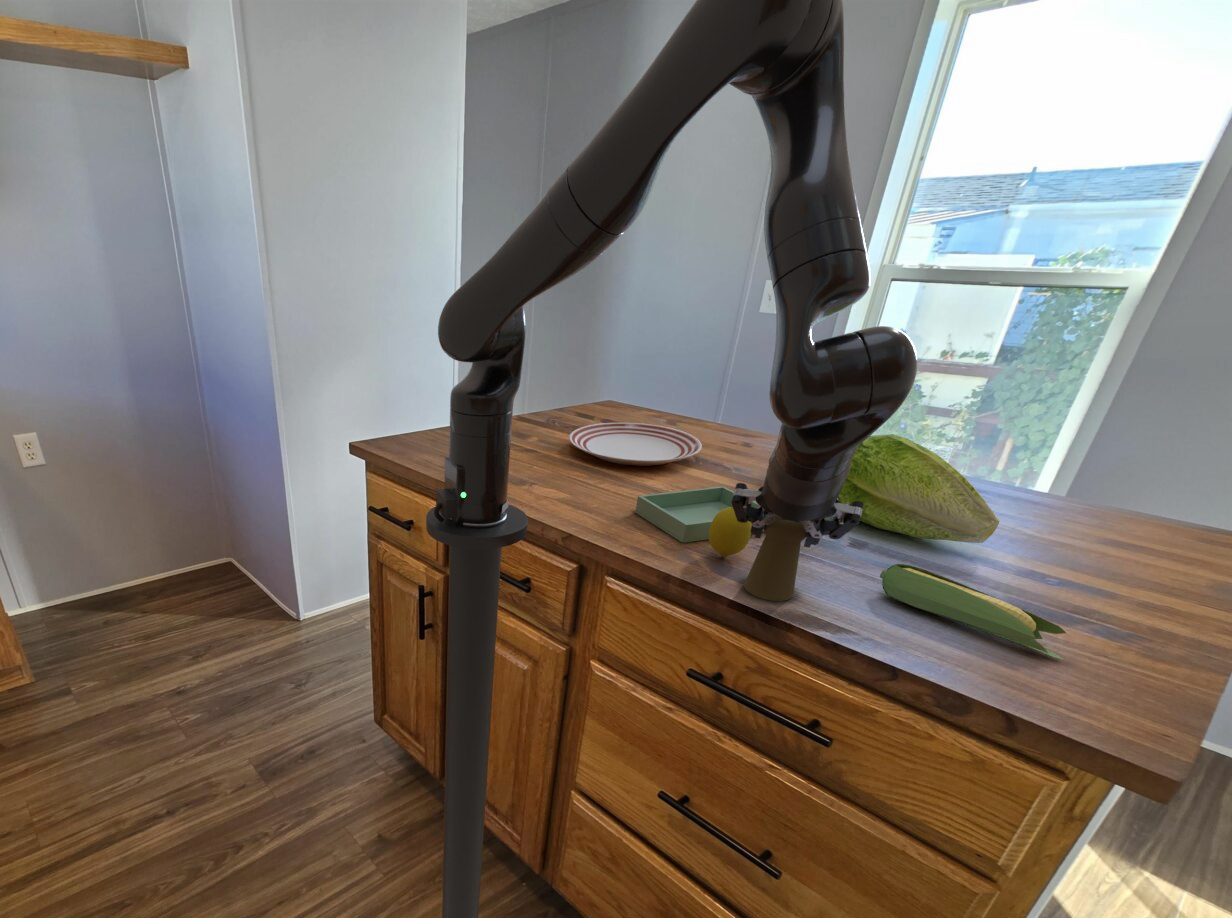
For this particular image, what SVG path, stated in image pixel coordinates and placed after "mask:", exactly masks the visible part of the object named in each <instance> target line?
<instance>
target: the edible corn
mask: <svg viewBox="0 0 1232 918" xmlns="http://www.w3.org/2000/svg"><path fill="white" fill-rule="evenodd" d="M879 578H880V579H881V580H882V582H881V586H882V589H883V592H884V593H885V594H886V595H887V596H888V597H889V598H891V599H893V600H895V601H896V602H897V601H898V602H899V603H901V604H904V605H907V606H910V607H913V608H915V609H918V610H921V611H923V612H926V613H930V614H932V615H936V616H939V617H941V618H945V619H947V620H950V621H953V622H956V623H959V624H961V625H965V626H967V627H970V628H973V629H976V630H978V631H981V632H984V633H987V634H990V635H993V636H995V637H998V638H1001V639H1003V640H1006V641H1009V642H1012V643H1014V644H1017V645H1019V646H1023V647H1025V648H1028V649H1031V650H1034V651H1036V652H1039V653H1042V654H1044V655H1047V656H1050V657H1053V658H1056V659H1060V660H1064V658H1063V657H1061V656H1060V655H1059V654H1057V653H1055V652H1053V651H1051V650H1048V649H1046V648H1045V647H1044V646H1043V644H1041V643H1040V642H1038V641H1037V640H1043V637H1042V635H1041V633H1040V632H1042V633H1049V634H1054V635H1059V634H1060V635H1061V634H1067V632H1066V631H1065V630H1064V628H1062V627H1061V626H1059V625H1057V624H1055V623H1053V622H1051V621H1049V620H1047V619H1045V618H1042V617H1040V616H1038V615H1036V614H1034V613H1032V612H1029V611H1027V610H1025V609H1022V608H1020V607H1018V606H1016V605H1013V604H1010V603H1008V602H1006V601H1004V600H1002V599H999V598H996V597H994V596H991V595H989V594H987V593H984V592H982V591H981V590H977V589H975V588H973V587H971V586H969V585H968V586H967V585H966V584H962V583H960V582H958V581H955V580H953V579H950V578H949V577H945V576H943V575H940V574H937V573H935V572H932V571H930V570H927V569H924V568H920V567H917V566H913V565H909V564H903V563H897V564H892V565H891V566H889V567H888V568H887V569H883V570H882V571H881V572H880V574H879Z"/></svg>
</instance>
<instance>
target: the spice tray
mask: <svg viewBox="0 0 1232 918" xmlns="http://www.w3.org/2000/svg"><path fill="white" fill-rule="evenodd" d="M734 491H735V490H733V489H730V488H728V487H726V486H724V485H721V486H713V487H704V488H696V489H687V490H679V491H669V492H661V493H659V492H658V493H652V494H642V495H637V499H636V505H635V511H634V512H635V514H637V515H638V516H639V517H641V518H643V519H645V520H646V521H648V522H649V523H651V524H652V525H653V526H655V527H657V528H659V529H660V530H662V531H664V532H665V533H666V534H668V535H669V536H671V537H673V538H674V539H676V540H677V541H679V542H680V543H683V544H684V543H693V542H700V541H706V540H709V529H710V526H711V523H712V521H713V519H714V517H715V516H716V515H717V514H718V513H719V512H720V511H721V510H723V509H726V508H729V507H733V506H732V503H731V501H732V498H733V494H734ZM758 506H759V505H758V504H757V502H756V500H755V501H752V506H751V507H754V508H757V507H758ZM751 525H752V523H751ZM762 533H765V531H764V527H763V531H762Z"/></svg>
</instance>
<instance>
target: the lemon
mask: <svg viewBox="0 0 1232 918" xmlns="http://www.w3.org/2000/svg"><path fill="white" fill-rule="evenodd" d="M751 526H752V525H751V522H749V521H747V522H746V523H741V522H738V521H737V518H736V515H735V512H734V509H733V507H729V508H726V509H723V510H721V511H720V512H719V513H718V514H717V515H716V516H715V517H714V519H713V521H712V523H711V526H710V529H709V539H708V542H709V544H710V546H711V548H712V549H713V550H714V551H715V552H717V553H718V554H719V555H720V557H722V558H727V557H728V556H732V555H736V554H738V553H740V552H741V551H743V550H744V549H745V548H746V547H747V545H748V544H749V541H750V538H751V535H752V533H751V532H750V531H751Z"/></svg>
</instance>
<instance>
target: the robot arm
mask: <svg viewBox="0 0 1232 918" xmlns="http://www.w3.org/2000/svg"><path fill="white" fill-rule="evenodd" d="M843 3H844V2H843V0H695V2H694V3H693V4H692V6H691V7H690V9H689V11H688V12H686V15H684V17H683V19H682V20H681V21H680V23H679V24H678V26H677V27H676V28H675V30H674V31H673V33H672V34H671V36H670V37H669V39H668V40H667V42H666V43H665V45H664V46H663V47H662V49H660V51H659V53H658V54H657V55H656V57H655V58H654V60H653V61H652V63H651V64H650V65H649V67H648V68H647V70H646V71H645V72H644V73H643V75H642V76H641V78H639V80H638V82H637V83H636V84H635V86H634V87H633V88H632V89H631V91H629V93H628V94H627V95H626V97H625V98H624V99H623V100H622V102H621V103H620V104H619V105H618V107H617V108H616V109H615V110H614V112H613V113H612V114H611V115H610V117H609V118H608V119H607V121H605V123H604V124H603V125H602V127H601V128H600V129H599V131H597V133H596V134H595V135H594V136H593V138H592V139H591V140H590V141H589V142H588V144H587V145H586V146H585V147H584V148H583V149H582V150H581V151H580V152H579V153H578V155H577V156H576V157H575V158H574V159H573V160H572V161H571V162H570V163H569V165H568V166H567V167H566V168H565V169H564V171H562V173H561V174H560V175H559V177H558V178H557V179H556V180H555V181H554V182H553V184H552V185H551V186H550V187H548V190H547V191H546V192H545V193H544V195H543V196H542V198H540V200H539V202H537V204H536V205H535V206H534V208H533V209H532V210H531V211H530V212H529V213H528V214H527V216H526V217H525V218H524V219H523V220H522V221H521V223H519V224H518V226H517V227H516V228H515V230H513V232H512V233H511V234H510V235H509V236H508V237H507V239H506V240H505V241H504V242H503V244H502V245H501V246H500V247H499V249H498V250H497V251H496V252H495V253H494V254H493V255H492V256H491V257H490V259H488V260H487V261H486V262H485V263H484V264H483V265H482V266H481V267H480V268H479V269H478V270H476V272H474V274H473V275H472V276H470V277H469V278H468V279H467V280H466V281H464V283H463V284H462V285H461V286H460V287H458V288H457V290H455V291H454V293H453V294H452V295H450V297H449V298H448V300H447V301H446V302H445V304H444V306H443V307H442V310H441V311H440V312H441V313H440V315H439V319H438V325H437V338H438V342H439V345H440V348H441V349H442V351H443V352H444V353H445V355H447V356H448V357H449V358H451V359H452V360H454V361H458V362H461V363H469V364H470V363H471V367H470V369H469V371H468V373H467V374H466V376H464V378H463V379H462V380H461V381H459V382H458V383H457V384H456V385H454V386H453V388H452V389H451V392H450V396H449V397H450V398H449V442H448V443H449V450H448V451H449V452H448V455H447V456H445V457H444V487H443V488H439V489H436V490H435V506H436V507H435V506H434V507H435V509H434V515H435V517H436V518H437V519H438V520H439V521H440V522H443V521H444V519H443V517H442V516H441V515H440V514H439V511H440V512H441V514H442V515H443V516H444V517H445V518H446V519H449V520H450V521H451V522H452V524H453V525H454V526H455V527H468V528H490V527H495V526H498V525H500V524H502V523H504V522H505V521H506V516H507V513H506V510H507V508H508V504H509V505H510V503H509V501H510V500H508V489H509V476H510V475H509V473H510V460H511V459H510V455H511V443H512V441H511V440H512V427H513V414H514V413H513V411H514V401H515V398H516V395H517V394H518V391H519V390H520V389H519V388H520V385H521V380H522V372H523V363H524V354H525V346H526V338H527V337H526V336H527V335H526V334H527V319H526V312H525V309H524V308H525V307H524V306H525V305H527V303H529V302H530V301H532V300H533V299H534V298H536V297H538V296H540V295H541V294H543V293H544V292H546V291H548V290H550V289H552V288H554V287H556V286H557V285H559V284H561V283H563V282H564V281H566V280H567V279H569V278H571V277H573V276H574V275H576V274H577V273H579V272H580V271H582V270H584V269H585V268H587V267H588V266H589V265H590V264H592V263H593V262H595V261H596V260H597V259H598V258H599V257H600V256H601V255H603V254H604V252H606V251H607V250H608V249H609V248H610V247H611V246H612V245H613V244H614V243H615V242H616V241H617V240H618V239H619V238H620V237H621V236H623V234H624V233H625V232H626V231H627V230H628V229H629V228H630V227H631V226H632V225H633V224H634V222H635V221H636V220H637V219H638V217H640V214H641V213H642V212H643V210H644V208H645V206H646V204H647V203H648V200H649V198H650V195H651V193H652V191H653V188H654V186H655V183H656V181H657V177H658V175H659V173H660V169H661V167H662V164H663V163H664V160H665V158H666V155H667V153H668V151H669V149H670V148H671V146H672V144H673V143H674V141H675V140H676V138H677V137H678V136H679V134H680V133H681V132H682V131H683V130H684V128H685V127H686V126H687V125H688V124H689V123H690V122H691V121H692V120H693V118H695V116H696V115H697V114H699V112H700V111H702V109H703V108H704V107H705V106H706V105H707V103H709V102H710V101H711V100H712V99H713V98H714V97H715V96H716V95H717V94H719V92H721V91H722V90H723V89H724V88H725V87H726V86H728V85H731V86H732V87H734V88H735V89H737V90H738V91H740V92H742V93H743V94H745V95H749V96H751V97H752V99H753V101H754V103H755V106H756V108H757V110H758V112H759V115H760V117H761V120H762V122H763V126H764V128H765V131H766V135H767V139H768V144H769V149H770V176H769V183H768V188H767V195H766V201H765V206H764V207H765V208H764V215H763V216H764V217H763V234H764V243H765V244H764V245H765V253H766V258H767V265H768V268H769V274H770V279H771V284H772V291H773V296H774V303H775V318H776V319H775V323H776V324H775V325H776V326H775V327H776V328H775V343H774V352H773V353H774V354H773V359H772V360H773V361H772V366H771V368H772V369H771V373H770V381H769V392H768V393H769V403H770V407H771V411H772V412H773V414H774V416H775V418H777V420H779V422H780V423H781V425H780V427H779V431H778V437H777V439H776V440H777V441H776V444H775V447H774V448H773V450H772V452H771V455H770V457H769V459H768V465H767V470H766V474H765V478H764V482H763V484H762V485H761V486H760V487H758V489H751V488H748V485H747V484H746V483H744V482H738V483H737V482H736V484H735V488H734V490H733V491H734V494H733V498H732V501H731V503H732V506H733V509H734V512H735V515H736V518H737V521H738V522H741V523H746V522H747V521H749V522H751V523H752V526H751V531H750V532H751V535H752V534H753V535H754V539H761V538H762V534H763V532H762V531H763V527H764V525H766V524H767V525H771V524H772V523H774V522H775V521H777V520H790V521H794V522H799V523H802V525H803V527H804V529H805V531H806V532H809V533H808V535H807V536H806V538H805V539H804V544H803V547H804V548H808V549H809V548H811V546H817V545H818V544H819V542H820V541H821V539H823V537H824V536H828V538H829V539H832V540H840V539H841V538H842V537H844V536H846V535H847V534H848V533H849V532H850V531H852V530H853V529H854V528H856V527H857V526H858V525H859V524H860V522H861V521H860V518H861V515H862V511H863V506H864V503H863V502H861V501H853V502H852V503H850V504H849V505H848V504H842V503H839V500H838V498H837V497H838V495H839V493H840V491H841V489H842V487H843V485H844V483H845V480H846V478H847V476H848V474H849V471H850V468H851V464H852V459H853V457H854V454H855V452H856V450H857V448H858V446H859V444H860V443H862V442H863V441H865V440H866V439H867V438H868V437H869V436H873V434H875V432H876V431H877V430H878V429H880V428H881V427H882V426H883V425H884V424H885V423H887V422H888V421H889V420H890V419H891V417H893V416H894V415H895V414H896V413H897V412H898V411H899V409H900V408H901V407H902V405H903V404H904V402H905V401H906V400H907V399H908V397H909V395H910V393H911V391H912V389H913V386H914V383H915V381H916V376H917V373H918V372H917V371H918V353H917V349H916V346H915V345H914V342H913V341H912V340H911V338H910V337H909V335H907V334H906V333H905V332H903V331H902V330H901V329H899V328H895V327H893V326H888V325H887V326H885V325H879V326H872V327H867V328H863V329H859V330H855V331H852V332H848V333H843V334H840V335H836V336H831V337H828V338H824V339H820V340H816V341H815V340H814V341H813V337H812V331H813V327H814V326H816V325H818V323H820V322H823V321H824V320H826V319H829V318H831V317H832V316H835V315H836V314H838V313H841V312H843V311H845V310H847V309H848V308H850V307H852V306H854V305H856V304H857V303H858V302H859V301H860V300H861V299H863V297H864V296H865V295H866V294H867V293H868V291H869V289H870V287H871V279H872V277H871V268H870V267H871V266H870V262H869V256H868V252H867V251H868V250H867V246H866V242H865V237H864V231H863V226H862V225H863V224H862V221H861V217H860V212H859V207H858V201H857V196H856V192H855V191H856V190H855V186H854V180H853V175H852V169H851V162H850V153H849V146H848V135H847V134H848V133H847V123H846V122H847V121H846V105H845V103H846V101H845V81H844V79H845V78H844V77H845V76H844V75H845V74H844V73H845V69H844V68H845V67H844V66H845V18H844V17H845V16H844V4H843ZM752 501H755V502H757V504H758V505H759V506H758V507H757V508H754V507H751V506H752ZM834 515H835V516H834ZM833 516H834V517H833ZM829 517H833V518H832V519H828V518H829Z"/></svg>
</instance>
